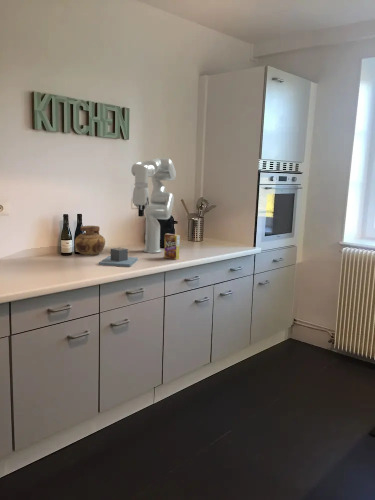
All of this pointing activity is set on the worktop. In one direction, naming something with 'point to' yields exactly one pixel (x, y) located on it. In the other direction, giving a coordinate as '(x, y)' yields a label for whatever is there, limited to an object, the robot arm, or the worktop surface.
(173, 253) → the candy box
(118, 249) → the dark grey cube
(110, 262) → the base
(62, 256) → the worktop surface
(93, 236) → the clay pot
